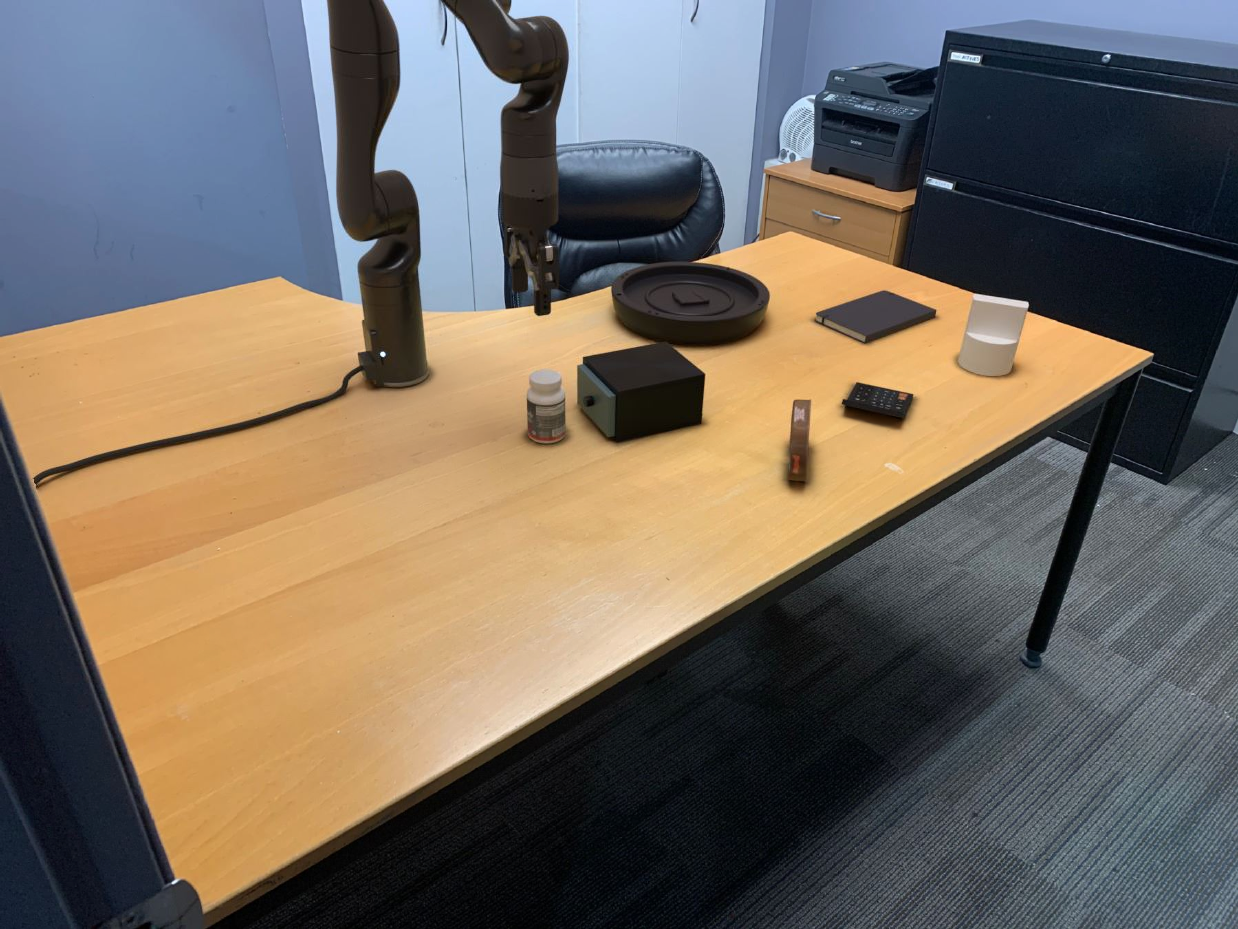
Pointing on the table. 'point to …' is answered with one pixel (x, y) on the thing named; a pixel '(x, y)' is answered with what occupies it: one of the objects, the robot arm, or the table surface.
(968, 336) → the cylinder with rectangular tab
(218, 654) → the table surface
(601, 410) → the drawer
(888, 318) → the notebook
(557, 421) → the pill bottle
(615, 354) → the cabinet
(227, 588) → the table surface
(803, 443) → the tin
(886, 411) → the calculator
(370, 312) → the robot arm
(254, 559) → the table surface
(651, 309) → the round tray
